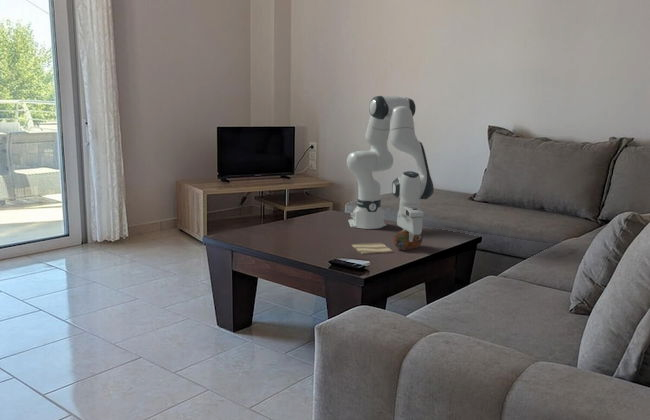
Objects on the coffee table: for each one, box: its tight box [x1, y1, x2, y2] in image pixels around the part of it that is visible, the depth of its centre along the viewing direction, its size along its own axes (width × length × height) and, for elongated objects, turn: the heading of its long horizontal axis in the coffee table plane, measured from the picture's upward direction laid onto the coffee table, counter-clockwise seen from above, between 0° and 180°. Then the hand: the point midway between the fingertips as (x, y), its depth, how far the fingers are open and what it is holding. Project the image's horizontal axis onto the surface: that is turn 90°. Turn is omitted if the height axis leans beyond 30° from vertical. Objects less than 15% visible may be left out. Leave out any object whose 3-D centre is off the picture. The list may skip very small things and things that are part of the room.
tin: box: [394, 229, 423, 251], centre depth 259 cm, size 15×3×8 cm, turn 125°
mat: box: [351, 242, 394, 255], centre depth 258 cm, size 15×14×1 cm
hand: (408, 240), depth 259 cm, fingers closed on tin, 3 cm apart
